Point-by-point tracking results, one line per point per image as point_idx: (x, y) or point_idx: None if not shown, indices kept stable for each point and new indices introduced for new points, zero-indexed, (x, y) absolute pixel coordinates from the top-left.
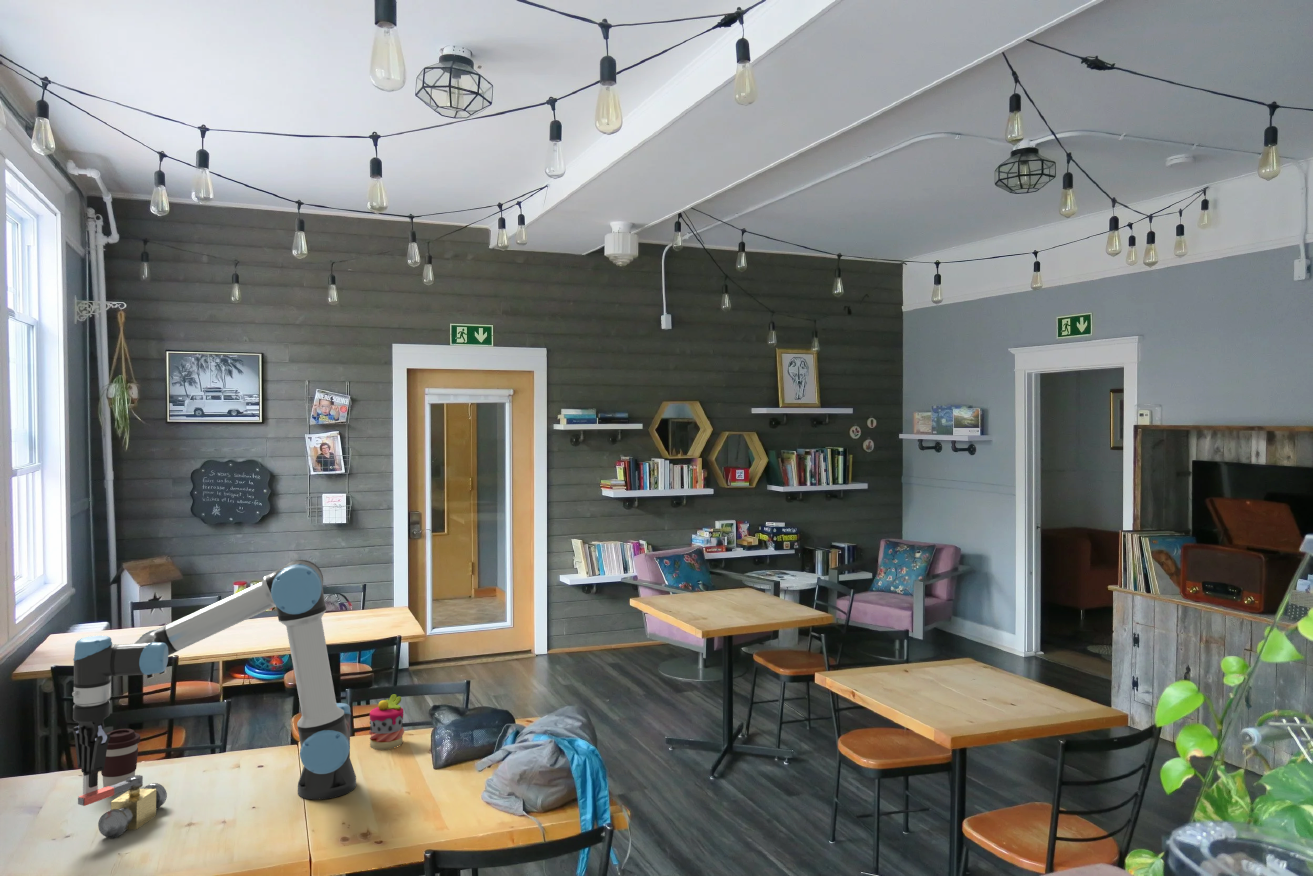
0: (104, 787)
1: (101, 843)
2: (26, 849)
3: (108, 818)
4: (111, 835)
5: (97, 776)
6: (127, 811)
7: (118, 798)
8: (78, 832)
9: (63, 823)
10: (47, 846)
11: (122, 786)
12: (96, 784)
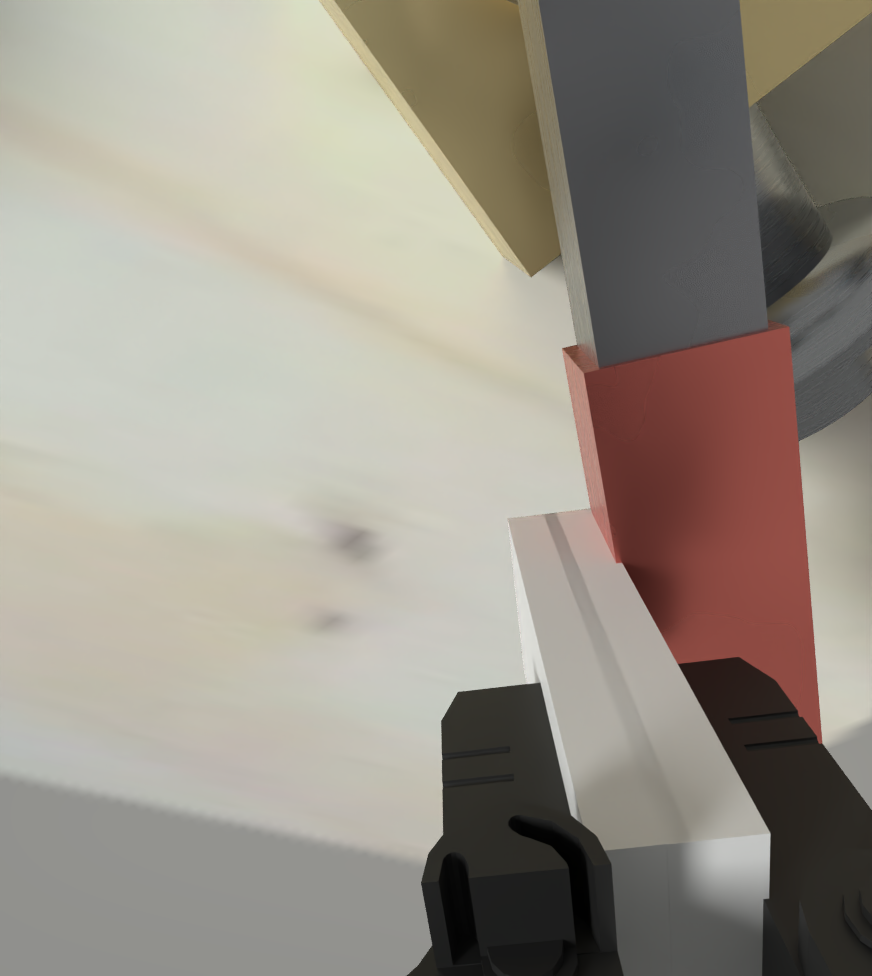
0: (607, 446)
1: None
2: (377, 782)
3: (839, 414)
4: None
5: (867, 807)
6: (764, 146)
7: (493, 154)
8: (339, 466)
9: (34, 484)
10: (439, 689)
11: (741, 135)
12: (766, 692)
